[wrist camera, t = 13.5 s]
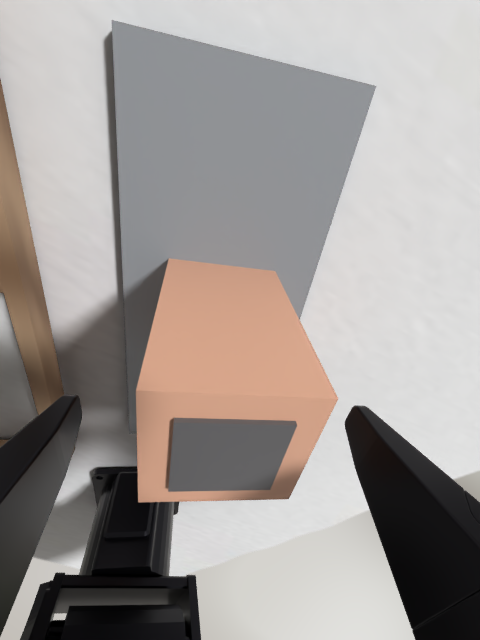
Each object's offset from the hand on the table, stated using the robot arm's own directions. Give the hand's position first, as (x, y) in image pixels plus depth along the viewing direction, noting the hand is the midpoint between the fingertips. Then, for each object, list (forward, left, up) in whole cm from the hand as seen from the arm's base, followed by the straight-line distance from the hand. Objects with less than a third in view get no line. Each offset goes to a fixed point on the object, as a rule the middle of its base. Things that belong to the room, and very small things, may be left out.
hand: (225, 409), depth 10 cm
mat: (0, 0, -7) cm, 7 cm away
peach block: (0, 0, -6) cm, 6 cm away
